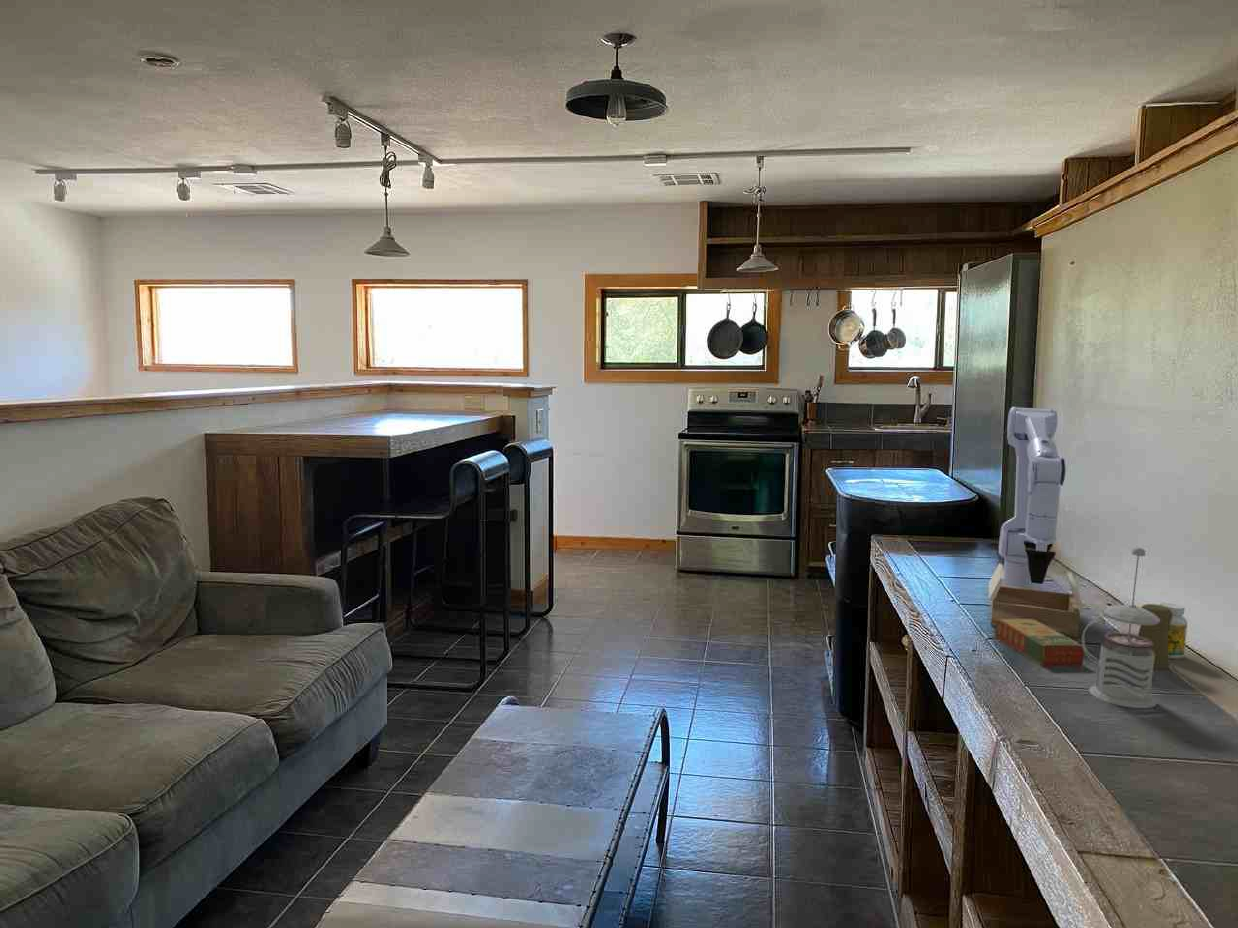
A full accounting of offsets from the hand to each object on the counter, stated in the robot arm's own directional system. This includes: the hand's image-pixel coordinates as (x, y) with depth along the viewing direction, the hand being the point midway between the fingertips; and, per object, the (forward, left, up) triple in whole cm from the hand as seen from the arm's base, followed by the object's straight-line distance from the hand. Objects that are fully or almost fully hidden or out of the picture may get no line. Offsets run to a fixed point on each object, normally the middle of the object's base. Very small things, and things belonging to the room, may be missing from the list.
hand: (1035, 578), depth 189 cm
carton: (+21, 0, -10) cm, 23 cm away
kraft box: (0, 0, -9) cm, 9 cm away
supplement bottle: (+11, +23, -9) cm, 27 cm away
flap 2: (0, +7, -2) cm, 7 cm away
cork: (+19, +19, -9) cm, 28 cm away
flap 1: (0, -7, -2) cm, 7 cm away
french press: (+40, +11, -9) cm, 42 cm away
